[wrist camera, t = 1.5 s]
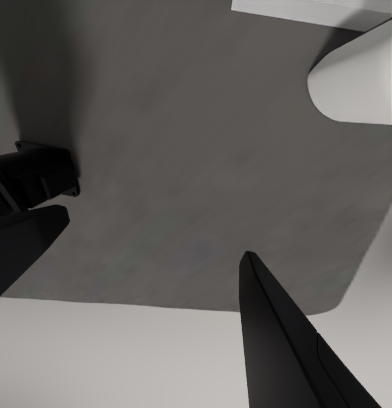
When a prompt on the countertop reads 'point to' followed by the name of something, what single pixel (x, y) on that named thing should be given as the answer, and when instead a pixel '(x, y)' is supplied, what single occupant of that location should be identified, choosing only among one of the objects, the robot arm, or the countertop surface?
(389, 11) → the square tray
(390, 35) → the eye dropper bottle
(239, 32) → the countertop surface
